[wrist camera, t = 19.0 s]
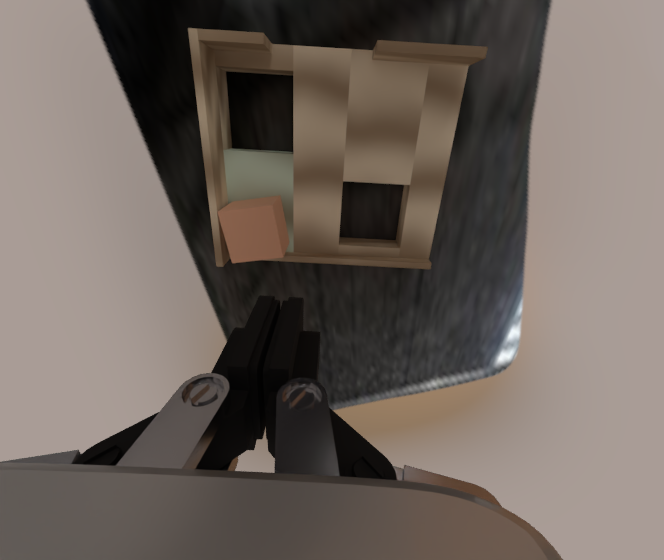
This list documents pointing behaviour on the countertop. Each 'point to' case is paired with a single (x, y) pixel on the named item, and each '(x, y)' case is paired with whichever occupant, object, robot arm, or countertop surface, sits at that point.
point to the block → (255, 229)
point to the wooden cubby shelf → (336, 138)
